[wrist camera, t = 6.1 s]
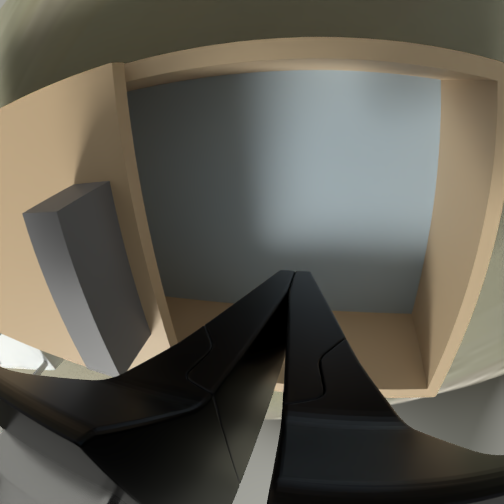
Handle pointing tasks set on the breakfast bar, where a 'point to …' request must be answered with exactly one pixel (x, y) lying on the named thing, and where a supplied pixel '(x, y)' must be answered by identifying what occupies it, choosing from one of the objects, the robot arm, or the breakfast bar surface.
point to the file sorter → (25, 356)
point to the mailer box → (327, 186)
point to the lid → (78, 228)
